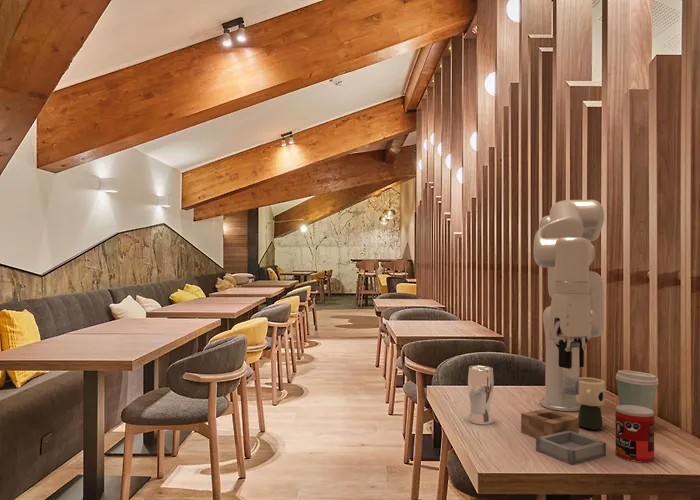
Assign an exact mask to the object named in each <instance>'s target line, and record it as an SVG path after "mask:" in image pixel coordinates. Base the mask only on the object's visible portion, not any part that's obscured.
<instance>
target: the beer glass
mask: <svg viewBox="0 0 700 500" xmlns="http://www.w3.org/2000/svg"><path fill="white" fill-rule="evenodd" d="M494 384H495V383H494V369H493V367H491V366H487V365H470V366H469V367H468V375H467V386H468V387H467V389H468V390H467V391H468V395H469V396H468V397H469V401H470V402H469V403H470V413H469V417H468V421H469V422H470V423H472V424H475V425H481V426H485V425H490V424H491V423H492V417H491V404H492V398H493V394H494Z"/></svg>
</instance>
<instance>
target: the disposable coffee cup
mask: <svg viewBox="0 0 700 500" xmlns="http://www.w3.org/2000/svg"><path fill="white" fill-rule="evenodd" d="M615 379H616V387H617V395H618V402H619V404H618V405H635V406H641V407H646V408H649V409H651V410H653V408H654V402H655V398H656V391H657V386H658V385H659V379H658V377H657V375H654V374H652V373H648V372H647V373H646V372H642V371H635V370H625V369H624V370H622V369H621V370H618V371H617V372H616V374H615Z"/></svg>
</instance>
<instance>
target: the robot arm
mask: <svg viewBox="0 0 700 500" xmlns="http://www.w3.org/2000/svg"><path fill="white" fill-rule="evenodd" d="M604 210H605V209H604V208H603V205H602V204H601V202H600V201H598V200H596V199H567V200H564V199H563V200H559V201H558V202H555V203H554V204H553V205H552V206H551V207H550V209H549V215H545V216H543V217H542V218H541V219H540V220H539V229H538V230H536V232H535V234H534V238H533V250H532V251H533V259H534V262H535V264H536V265H538V267H541V268H547V290H548V292H547V293H548V295H549V297H550V298H551V301H550V305H549V306H547V307H546V308H545V309H544V310H543V313H542V321H543V322H542V323H543V329H544V338H545V340H544V341H545V381H544V382H545V389H544V390H545V395H544V396H545V397H543V398H540V400H539V404H540V405H541V406H542V407H544V408H545V409H550V410H553V411H558V412H579V409H580V406H581V405H582V404H580V403H578V402H577V401H576V395H570V394H565V393H563V368H567V369H571V368H572V352H571V351H570V344H571V341H576V342H580V368H583V367H584V366H585V350H586V348H587V344H588V342H589V341H590V340H591V338H597V337H601V335H603V333H604V329H605V304H604V299H605V297H604V283H603V279H602V276H601V275H600V274H599V273H598V272H595V271H592V270H590V265H592V262H594V261H595V255H596V251H595V246H594V245H593V243H592V242H593V241H596V240H597V239H598V238H599V237H600V234H601V231H602V229H603V226H604V222H605V211H604ZM564 341H565V343H564Z"/></svg>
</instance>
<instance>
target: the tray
mask: <svg viewBox="0 0 700 500" xmlns="http://www.w3.org/2000/svg"><path fill="white" fill-rule="evenodd" d="M535 451H537V452H538V453H541V454H545V455H547V456H549V457H552V458H553V459H556V460H559V461H562V462H564V463H566V464H568V465H571V466H573V465H576V464H581V463H584V462H587V461H591V460H594V459H598V458H599V459H600V458H602V457H606V456H607V442H605V441H602V440H599V439H596V438H593V437H591V436H587V435H584V434H582V433H580V432H579V433H576V432H573V431H570V430H568V431H564V432H559V433H555V434H550V435H546V436H541V437H537V438H535Z"/></svg>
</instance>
